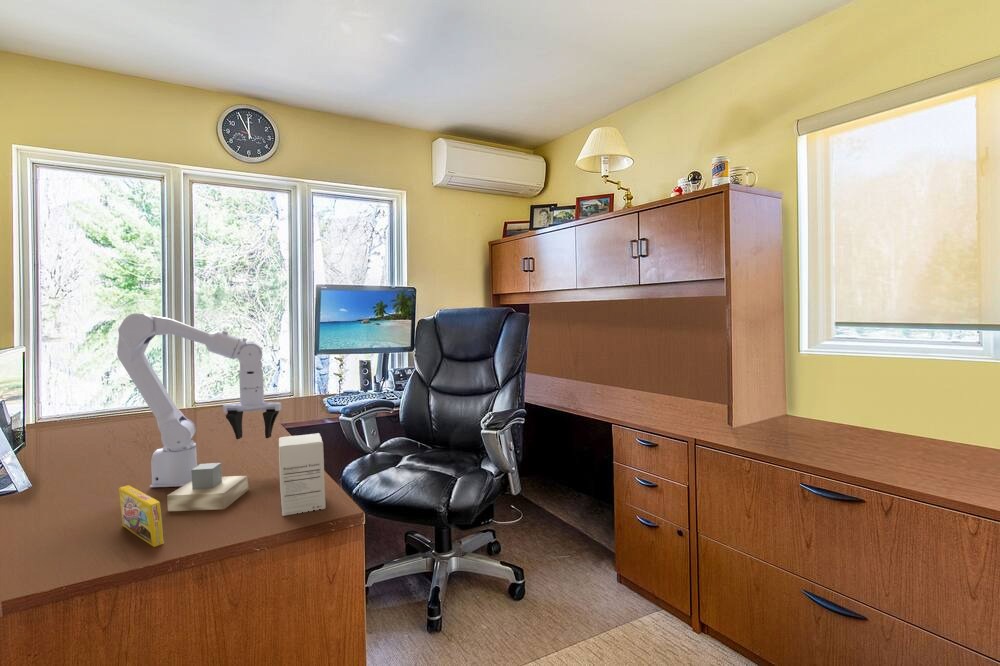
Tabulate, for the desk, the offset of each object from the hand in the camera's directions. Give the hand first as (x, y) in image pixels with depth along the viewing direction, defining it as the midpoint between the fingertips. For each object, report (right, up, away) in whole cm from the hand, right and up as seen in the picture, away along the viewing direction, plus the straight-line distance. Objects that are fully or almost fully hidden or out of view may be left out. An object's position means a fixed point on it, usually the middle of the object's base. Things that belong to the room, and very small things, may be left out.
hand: (253, 437), depth 138 cm
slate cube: (-1, -7, -20) cm, 21 cm away
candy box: (-4, -12, -38) cm, 40 cm away
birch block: (-1, -11, -20) cm, 22 cm away
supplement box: (+23, -10, -24) cm, 35 cm away
